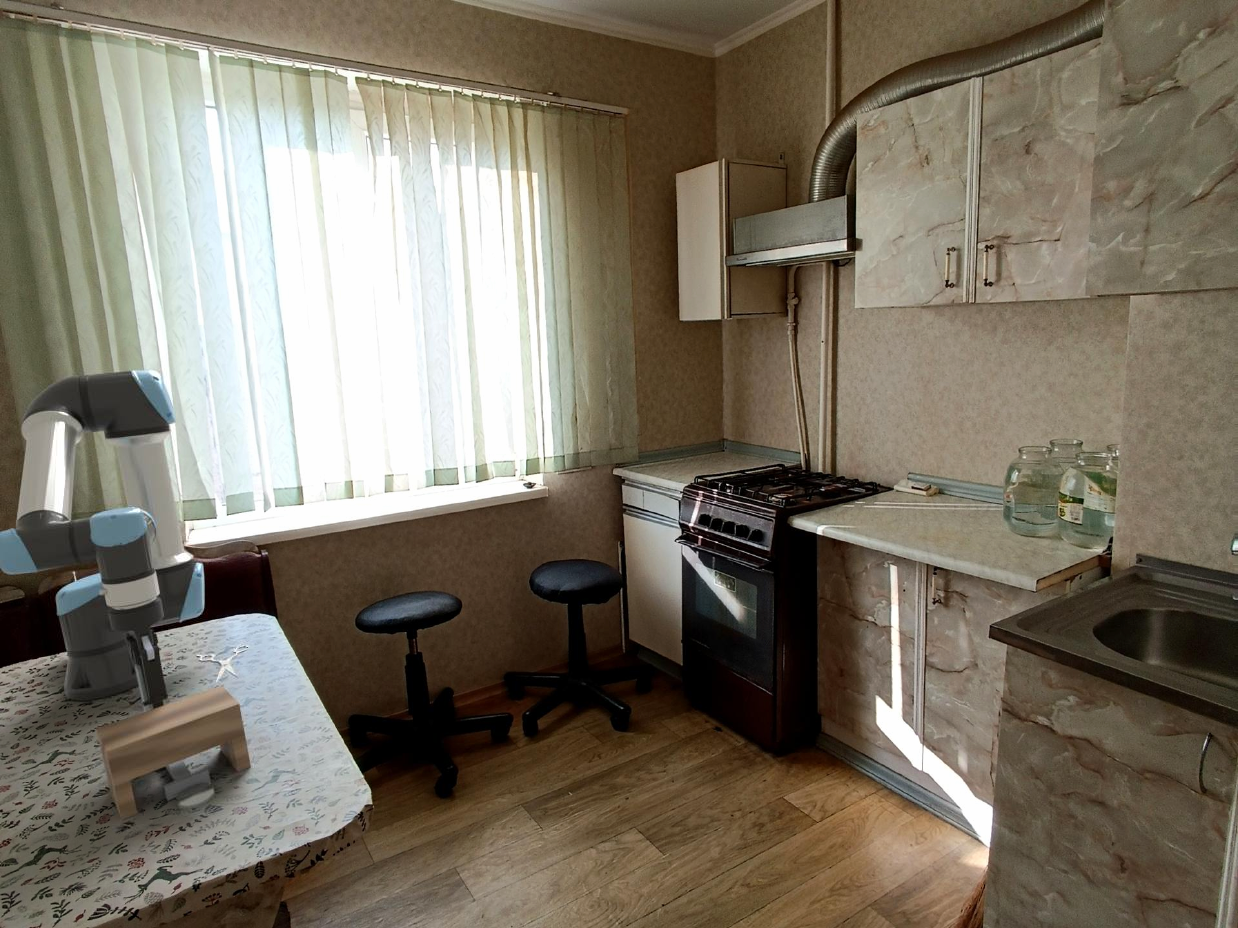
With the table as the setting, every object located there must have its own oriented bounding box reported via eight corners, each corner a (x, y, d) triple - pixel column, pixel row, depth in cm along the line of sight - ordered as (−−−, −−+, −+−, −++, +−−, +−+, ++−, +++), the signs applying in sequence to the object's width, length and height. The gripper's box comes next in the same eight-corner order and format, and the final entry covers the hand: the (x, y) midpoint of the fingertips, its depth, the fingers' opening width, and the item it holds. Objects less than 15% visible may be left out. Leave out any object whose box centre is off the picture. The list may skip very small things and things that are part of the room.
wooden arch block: (110, 792, 119) (96, 728, 117) (233, 744, 131) (221, 685, 129) (121, 819, 112) (106, 751, 110) (250, 766, 123) (239, 703, 121)
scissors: (247, 642, 177) (254, 671, 160) (248, 645, 177) (255, 674, 160) (196, 654, 172) (197, 686, 155) (197, 658, 172) (198, 689, 155)
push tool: (142, 755, 129) (124, 667, 126) (181, 740, 133) (164, 655, 130) (167, 800, 115) (147, 702, 112) (210, 782, 119) (192, 687, 116)
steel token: (173, 802, 115) (171, 794, 115) (208, 786, 119) (207, 778, 119) (183, 815, 112) (182, 806, 112) (219, 798, 115) (218, 790, 115)
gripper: (99, 598, 129) (126, 725, 133) (115, 619, 117) (145, 758, 121) (149, 585, 134) (174, 708, 138) (170, 605, 122) (197, 739, 126)
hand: (161, 731), depth 129 cm, fingers closed on push tool, 3 cm apart
